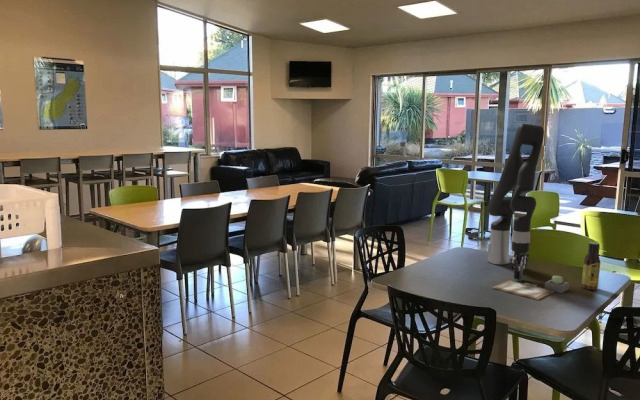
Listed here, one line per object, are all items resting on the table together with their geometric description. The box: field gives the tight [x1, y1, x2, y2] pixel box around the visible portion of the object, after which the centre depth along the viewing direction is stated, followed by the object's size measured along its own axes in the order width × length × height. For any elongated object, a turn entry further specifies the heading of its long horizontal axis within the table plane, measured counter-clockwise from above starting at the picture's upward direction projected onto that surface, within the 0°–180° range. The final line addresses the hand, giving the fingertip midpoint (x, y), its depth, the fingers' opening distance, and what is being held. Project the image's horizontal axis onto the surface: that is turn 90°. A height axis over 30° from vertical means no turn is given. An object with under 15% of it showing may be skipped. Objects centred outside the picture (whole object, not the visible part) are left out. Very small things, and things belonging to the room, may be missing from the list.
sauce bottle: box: [581, 241, 601, 291], centre depth 220 cm, size 6×6×20 cm
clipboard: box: [491, 279, 555, 301], centre depth 218 cm, size 20×15×1 cm
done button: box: [551, 275, 564, 285], centre depth 219 cm, size 4×4×4 cm
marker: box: [514, 262, 524, 282], centre depth 232 cm, size 3×3×9 cm
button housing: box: [544, 278, 570, 294], centre depth 220 cm, size 7×7×3 cm
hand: (518, 277), depth 232 cm, fingers closed on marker, 3 cm apart
